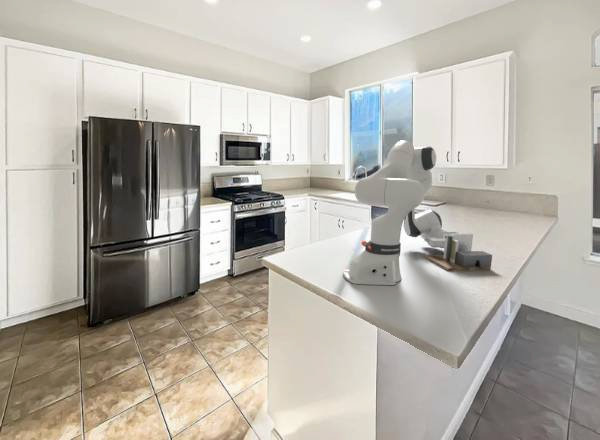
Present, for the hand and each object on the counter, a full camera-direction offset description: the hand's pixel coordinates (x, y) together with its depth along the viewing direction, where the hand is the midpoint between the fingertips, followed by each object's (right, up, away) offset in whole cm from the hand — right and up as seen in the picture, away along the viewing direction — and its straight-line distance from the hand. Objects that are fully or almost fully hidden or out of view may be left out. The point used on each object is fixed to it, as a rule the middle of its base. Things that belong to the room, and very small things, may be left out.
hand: (459, 246), depth 147 cm
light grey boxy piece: (-1, -6, -5) cm, 8 cm away
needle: (-8, -6, -5) cm, 11 cm away
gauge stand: (-3, -7, -3) cm, 8 cm away
